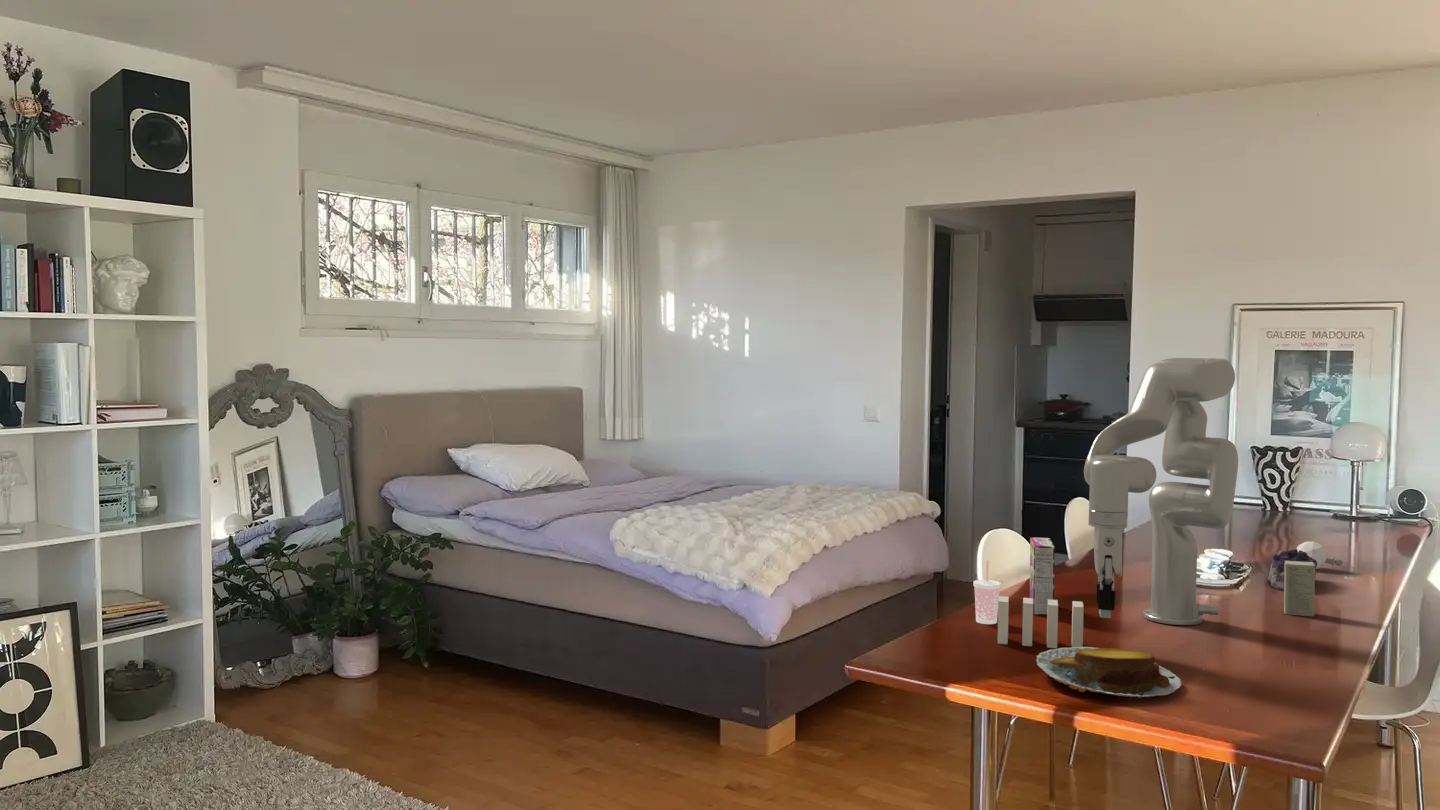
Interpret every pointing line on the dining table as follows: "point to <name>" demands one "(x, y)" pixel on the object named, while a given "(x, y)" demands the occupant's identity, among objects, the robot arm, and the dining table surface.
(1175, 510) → the robot arm
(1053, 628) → the domino
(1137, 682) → the food on plate
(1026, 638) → the domino
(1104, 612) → the domino
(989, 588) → the beverage cup
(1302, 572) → the skincare box
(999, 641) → the domino
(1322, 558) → the perfume bottle
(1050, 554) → the candy bar box
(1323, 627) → the dining table surface
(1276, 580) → the geode
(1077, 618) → the domino
